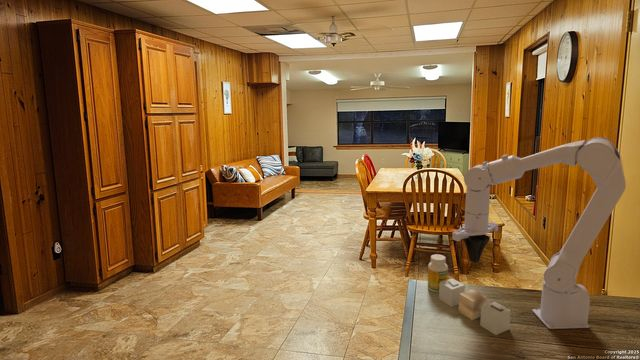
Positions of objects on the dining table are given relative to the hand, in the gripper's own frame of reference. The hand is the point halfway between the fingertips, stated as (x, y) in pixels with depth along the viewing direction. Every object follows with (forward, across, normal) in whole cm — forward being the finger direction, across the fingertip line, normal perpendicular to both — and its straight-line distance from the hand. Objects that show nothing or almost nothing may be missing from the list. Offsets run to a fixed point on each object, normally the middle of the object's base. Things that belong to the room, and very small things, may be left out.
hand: (474, 260), depth 108 cm
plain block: (+10, +6, +6) cm, 14 cm away
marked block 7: (+10, +6, -1) cm, 12 cm away
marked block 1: (+10, +6, +13) cm, 18 cm away
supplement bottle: (+11, +5, -8) cm, 14 cm away
